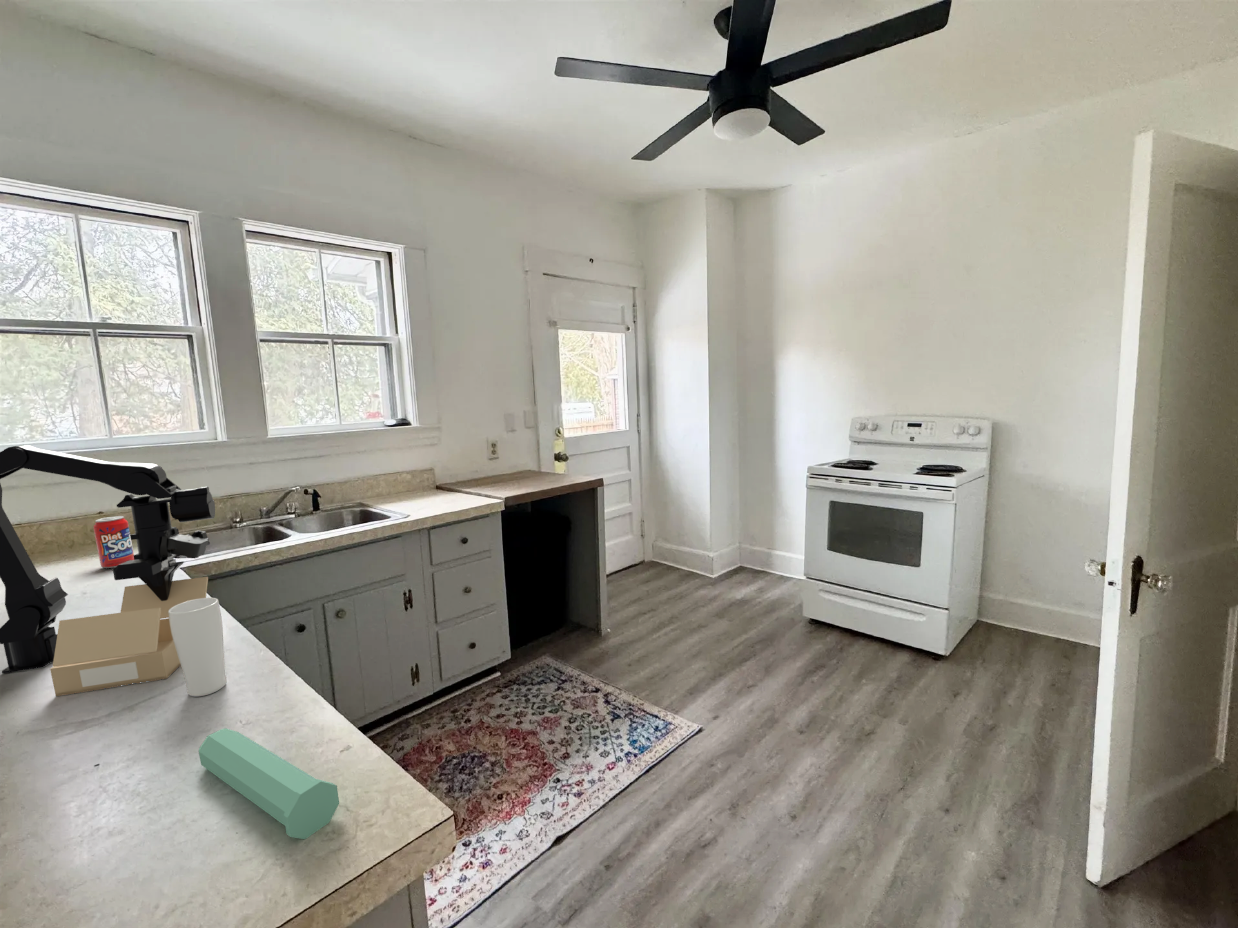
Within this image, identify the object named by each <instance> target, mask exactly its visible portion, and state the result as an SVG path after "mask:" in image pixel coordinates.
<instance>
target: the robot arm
mask: <svg viewBox="0 0 1238 928" xmlns="http://www.w3.org/2000/svg"><path fill="white" fill-rule="evenodd" d="M22 469H26V470H33V471H37V472H43V473H49V474H55V475H61V476H66V477H71V478H78V479H82V480H89V481H94V482H98V483H102V484H105V485H107V486H110V487H112V488H114V489H116V490H118V491H122V492H125V493H128V494H125V495H124V497H123V499H122V500H121V501H120V502H118V503H117V504H116V508H118V509H119V508H121V509H122V508H129V507H130V508H131V514H132V520H133V527H134V528H133V529H134V533H133V534H130V537H131V541H132V540H134V541H136V546H137V552H138V553H134V560H130V561H127V562H124V563H122V564H119V565H118V566H117V567H116V568H113V570H112V571H113V578H114V581H121V580H129V579H131V580H132V579H140V580H141V581H142V582H143V584H146V585H147V586H148V587H149V588H150V589H151V590H152V591H153V592H154V593H155V595H156V596H157V597H158V598H159V599H160V600H161V601H166V600H168V597H169V594H170V589H171V584H172V581H173V578H174V575H175V572H176V571H177V570H178V569H179V568H180V567H181V566H182V565H183V564H184V563H185V562H184V561H177V560H176V557H185V558H188V559H198V558H199V557H200V556H204V555H205V553H206V549H207V547H208V546H210V544H211V542H210V538H208V535H207V532H206V531H205V530H195V531H194V532H193V533H192V534H191V535H190V534H180V532H179V528H177V526H172V520H171V518H172V519H173V520H176V521H179V523H187V522H194V521H196V522H197V521H204V520H212V519H215V516H216V502H215V499H213V495H212V493H211V491H210V487H209V486H200V487H197V488H187V489H182V488H180V487H179V486H178V485H177V484H176V483H174V482H173V481H172V480H171V479H170V478H168V477H167V473H166V471H165V470H164V469H163V467H162V466H160V465H158V464H155V463H151V462H150V463H149V462H147V463H145V462H132V461H131V462H126V461H125V462H121V461H120V462H119V461H118V462H117V461H107V460H100V459H96V458H91V457H86V456H80V455H75V454H71V453H70V454H68V453H64V452H60V451H54V450H50V449H43V448H39V447H35V446H32V445H30V444H29V445H28V444H19V445H15V446H13V445H12V446H7V447H6V448H5V449H3V450H1V451H0V480H1V479H2V480H3V479H4V478H6V477H9V476H11V475H13V474H15V473H16V472H19V471H20V470H22ZM135 495H136V496H135ZM14 528H15V527H13V525H12V523H11V521H10V519H9V517H8V515H7V514H6V512H5V509H4V508H3V487H2V484H1V482H0V580H1V582H2V584H3V585H4V590H5V591H4V607H5V611H6V613H7V616H8V620H7V621H6V622H5V623H4V624H3V625H2V626H1V627H0V645H3V649H4V653H5V657H6V662H7V667H6V668H3V669H2V670H1V673H2V674H8V673H15V672H19V671H20V672H21V671H27V670H35V669H39V668H40V669H42V668H45V667H46V666H48V665H50V664H51V663H53V661H54V654H55V648H56V641H57V634H58V633H56V629H55V628H56V627H55V626H51V625H52V624H54V623H55V622H56V619H57V617H58V615H59V614H61V612H62V611H63V609H64V608H65V606H66V604H67V601H66V597H67V596H68V595H69V594H68V593H67V592H66V591H65V590H64V589H63V588H62V586H61V581H60V579H59V578H58V577H54V578H52V579H50V580H48V579H47V578H45V577H44V576H42V575H41V574H40V573H39V572H38V570H37V569H36V566H35V564H34V563H33V560H32V559H31V557H30V555H29V553H28V552H27V550H26V548H25V546H24V545H23V543H22V541H21V539H20V537H19V535H18V533H17V531H16V530H15V529H14ZM174 558H175V559H174Z"/></svg>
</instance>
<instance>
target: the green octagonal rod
mask: <svg viewBox="0 0 1238 928" xmlns="http://www.w3.org/2000/svg"><path fill="white" fill-rule="evenodd" d="M198 748H199V749H198V755H199V760H200V765H201V767H203V768H205V769H206V770H207V771H209V772H211V773H212V774H213V775H215V776H216V777H217V778H219V779H220V780H221V781H223V782H224V783H225V784H227V785H228V786H229V787H231V788H232V789H234V790H235V791H236V792H238V793H239V794H241V795H242V796H243V797H244V798H246V799H248V800H249V801H251V802H252V803H253V804H254V805H256V806H257V807H258V808H260V809H261V810H263V812H265V813H267V814H268V815H269V816H271V817H272V818H274V819H275V820H276V821H277V822H279V823H280V824H282V825H283V826H284V827H285V834H286V835H287V836H288V837H290V838H296V839H300V840H301V839H302V840H306V839H308V838H309V837H311V836H312V835H313V834H315V833H316V832H318V831H319V830H321V829H322V828H323V827H325V826H326V825H328V824H329V823H331V820H332V818H333V816H334V814H335V812H336V811H337V809H338V807H339V805H340V799H339V798H340V797H339V791H338V785H336V784H335V783H334V782H330V781H326V780H323V779H318V778H316V777H314V776H313V775H310V774H308V773H307V772H305V771H303V770H302V769H300V768H298V767H297V766H296V765H294V764H292V763H291V762H289V761H287V760H286V759H283V758H282V757H281V756H279V755H278V754H275V753H274V752H272V751H270V750H269V749H267V748H266V747H264V746H262V745H260V744H259V743H257V742H255V741H254V740H252V739H250V738H249V737H247V736H245V735H244V734H243V733H241V732H239V731H236V730H234V729H233V730H232V729H230V728H226V727H224V728H222V729H219V730H217V731H214V732H213V733H211V734H209V735H207V736H206V738H205V739H204V740H203V742H202V744H201V745H200V747H198Z"/></svg>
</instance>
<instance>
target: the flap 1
mask: <svg viewBox="0 0 1238 928" xmlns="http://www.w3.org/2000/svg"><path fill="white" fill-rule="evenodd" d="M160 614H161V608H152V609H145V610H137V611H130V612H122V613H120V612H114V613H108V614H107V613H106V614H100V615H93V616H84V617H79V618H78V617H77V618H76V617H75V618H70V619H61V620H59V623H58V629H57V633H56V634H57V641H56V648H55V654H54V661H53V662H52V667H54V666H61V665H68V664H75V663H82V662H88V661H95V660H102V659H109V658H115V657H122V656H129V655H136V654H142V653H149V652H156V651H157V645H158V635H159V624H160Z"/></svg>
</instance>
